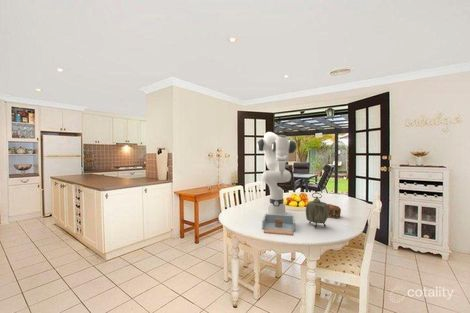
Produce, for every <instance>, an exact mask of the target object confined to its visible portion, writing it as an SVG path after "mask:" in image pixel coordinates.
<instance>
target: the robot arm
mask: <svg viewBox="0 0 470 313" xmlns="http://www.w3.org/2000/svg"><path fill="white" fill-rule="evenodd" d="M256 147H257V150H258V151H259V152H264V160H265V161H264V162H265V165H266V167H267V169H268V170H264V171H263V173H262V174H261V179H262V181H263V182H264V183H265V184H266V185H267V186H268V189H269V196H270V197H269V203H268V205H267V211H266V212H265V214H275V215H289V214H288V212H287V211H286V205H285V203H284V190H283V188H282V187H280V186H278V183H283V184H284V183H288V182H290V181H291V179H292V174H291V172H290V171H289V170H287V169H286V163H287V161H289V154H293V153H294V152H296V150H297V143H296V142H295V141H294V140H293V139H290V140H289V138H288V136H287V135H282V134H279V135H278V134H276V133H274V132H272V131H267V132H266V133H264V136H263V138H260V139H259V140H258V141H257V142H256Z"/></svg>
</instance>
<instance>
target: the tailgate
mask: <svg viewBox="0 0 470 313" xmlns="http://www.w3.org/2000/svg"><path fill="white" fill-rule="evenodd" d="M263 234H272V235H283V236H294V232H293V231H289V230H277V229H263Z"/></svg>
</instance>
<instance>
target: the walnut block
mask: <svg viewBox="0 0 470 313" xmlns="http://www.w3.org/2000/svg"><path fill="white" fill-rule="evenodd" d="M282 222H283V218H276V219H275V227H282Z"/></svg>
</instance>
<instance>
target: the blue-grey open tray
mask: <svg viewBox="0 0 470 313" xmlns="http://www.w3.org/2000/svg"><path fill="white" fill-rule="evenodd" d="M262 218H263V219H262V223H261V224H262V227H261V228H262V230H264V229H277V230H289V231H293V233H296V219H295V215H290V214H288V215H275V214H266V213H264V215H263V217H262ZM276 218H283V222H282V227H275V219H276Z"/></svg>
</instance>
